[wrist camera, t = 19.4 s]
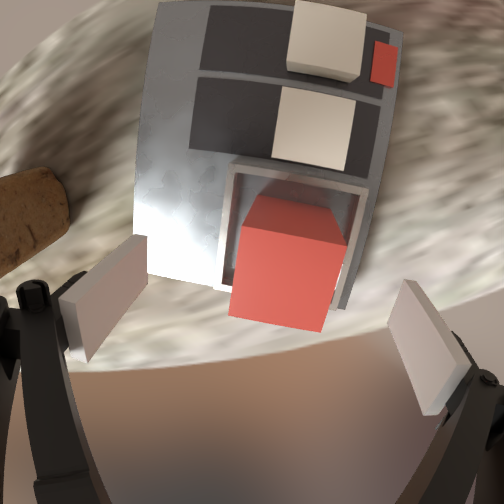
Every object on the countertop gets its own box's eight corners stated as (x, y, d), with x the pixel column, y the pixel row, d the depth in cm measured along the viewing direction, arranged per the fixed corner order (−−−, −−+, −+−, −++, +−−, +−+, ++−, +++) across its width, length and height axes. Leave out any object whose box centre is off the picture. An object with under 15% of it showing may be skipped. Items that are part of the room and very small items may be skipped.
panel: (148, 255, 27) (127, 276, 23) (173, 14, 19) (152, -3, 15) (340, 291, 26) (347, 318, 22) (391, 42, 18) (409, 27, 14)
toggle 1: (287, 70, 17) (286, 60, 14) (295, 16, 16) (295, -1, 13) (350, 82, 17) (359, 75, 14) (357, 28, 15) (366, 14, 13)
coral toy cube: (246, 261, 23) (228, 315, 17) (257, 194, 21) (241, 225, 15) (314, 274, 23) (320, 332, 16) (330, 208, 21) (347, 246, 14)
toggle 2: (274, 153, 19) (271, 157, 17) (283, 92, 18) (282, 86, 15) (336, 164, 19) (343, 170, 16) (346, 104, 18) (356, 100, 15)
